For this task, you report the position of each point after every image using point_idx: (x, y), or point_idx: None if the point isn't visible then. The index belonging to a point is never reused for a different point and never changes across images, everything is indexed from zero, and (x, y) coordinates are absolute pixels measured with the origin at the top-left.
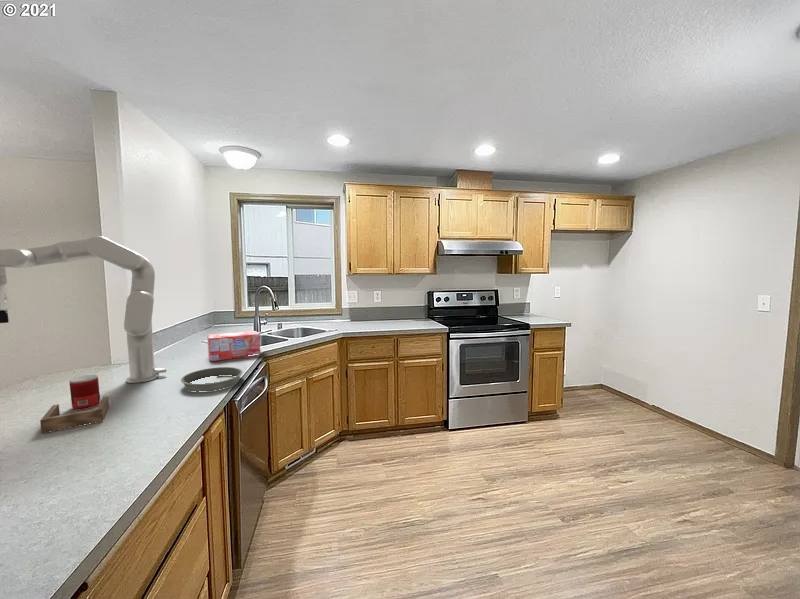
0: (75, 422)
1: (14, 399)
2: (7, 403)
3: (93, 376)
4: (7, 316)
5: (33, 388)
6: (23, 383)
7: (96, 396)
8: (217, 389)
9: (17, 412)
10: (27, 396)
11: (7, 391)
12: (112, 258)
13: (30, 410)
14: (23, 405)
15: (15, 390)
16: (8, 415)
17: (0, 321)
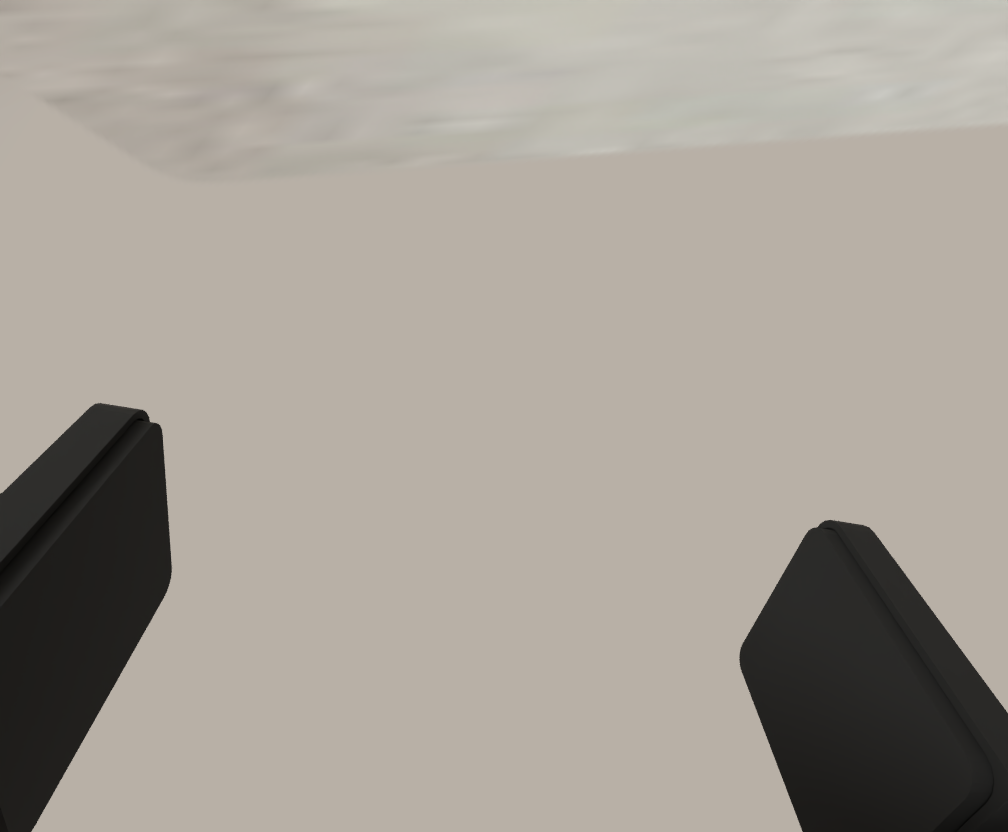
0: None
1: (518, 117)
2: (591, 149)
3: None
4: (30, 534)
5: (266, 10)
6: (37, 91)
7: None
8: None
9: (882, 78)
10: (501, 41)
11: (243, 175)
12: None
13: (919, 4)
14: (739, 53)
15: (247, 129)
16: (897, 122)
17: (155, 557)
